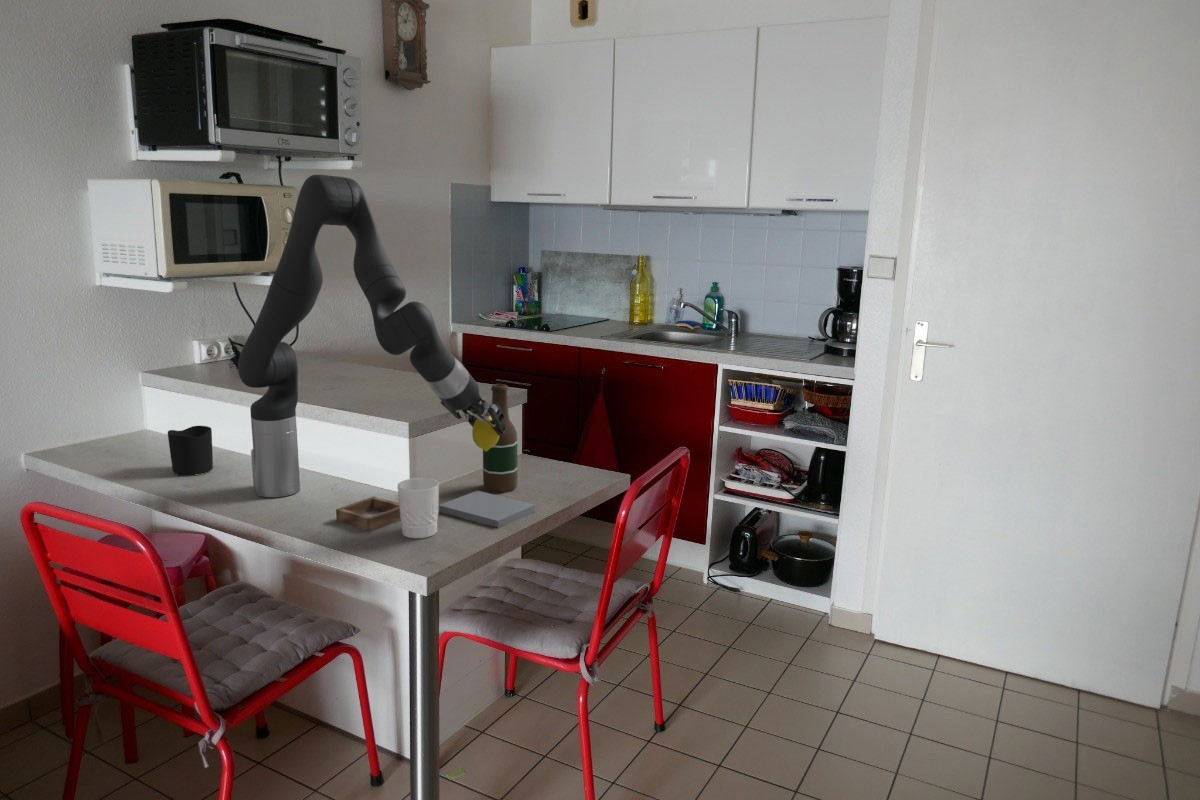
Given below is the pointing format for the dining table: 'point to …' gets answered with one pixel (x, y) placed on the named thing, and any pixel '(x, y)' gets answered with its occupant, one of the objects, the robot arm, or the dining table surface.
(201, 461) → the pen holder
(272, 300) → the robot arm
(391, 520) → the walnut collar
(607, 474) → the dining table surface
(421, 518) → the white cup
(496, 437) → the lemon
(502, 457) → the beer bottle
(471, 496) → the gray board
